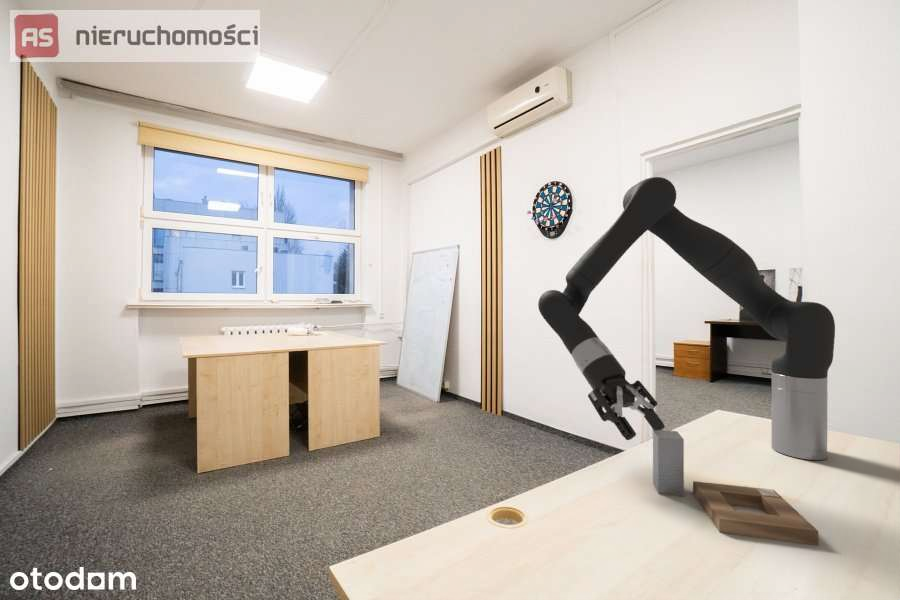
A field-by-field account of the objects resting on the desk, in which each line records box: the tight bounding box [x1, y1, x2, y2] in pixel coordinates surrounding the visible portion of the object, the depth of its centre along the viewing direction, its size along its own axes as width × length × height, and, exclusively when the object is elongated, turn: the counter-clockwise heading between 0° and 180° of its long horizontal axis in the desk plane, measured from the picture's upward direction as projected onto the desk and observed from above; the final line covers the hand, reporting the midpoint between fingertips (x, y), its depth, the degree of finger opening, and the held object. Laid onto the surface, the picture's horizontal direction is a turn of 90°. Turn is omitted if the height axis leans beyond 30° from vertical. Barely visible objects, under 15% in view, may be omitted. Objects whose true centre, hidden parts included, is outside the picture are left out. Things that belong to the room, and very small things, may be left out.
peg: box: [652, 429, 685, 497], centre depth 71 cm, size 4×4×10 cm
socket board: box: [692, 480, 819, 546], centre depth 62 cm, size 12×12×2 cm
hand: (646, 433), depth 74 cm, fingers open, 8 cm apart
